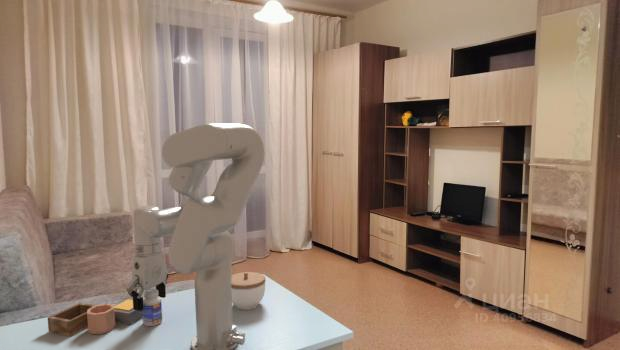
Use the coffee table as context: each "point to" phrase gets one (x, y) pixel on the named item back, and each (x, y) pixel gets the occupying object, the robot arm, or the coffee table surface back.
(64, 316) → the trough
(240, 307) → the lidded bowl
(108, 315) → the octagonal terracotta pot
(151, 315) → the pill bottle
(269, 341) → the coffee table surface
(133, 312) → the grey square tray
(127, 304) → the pad
